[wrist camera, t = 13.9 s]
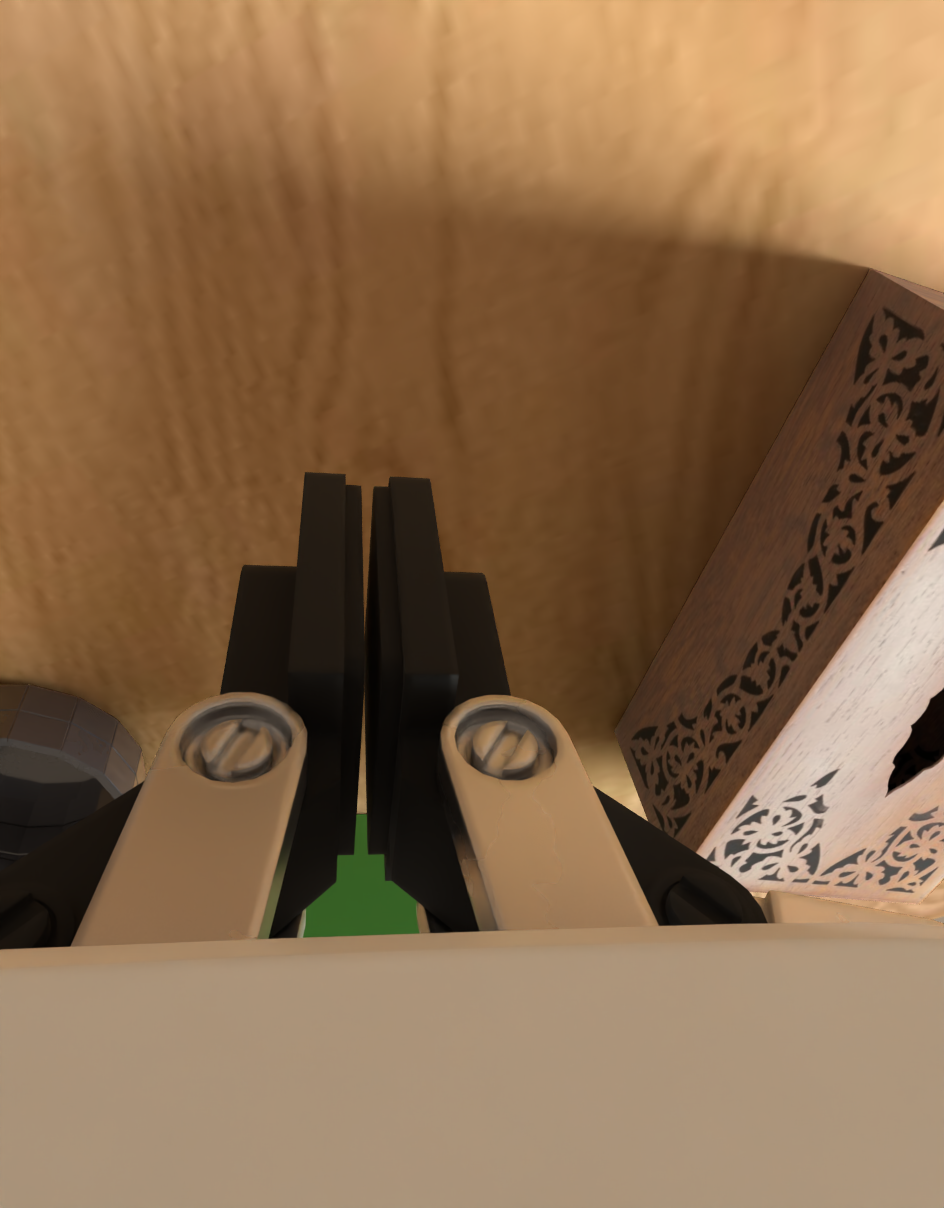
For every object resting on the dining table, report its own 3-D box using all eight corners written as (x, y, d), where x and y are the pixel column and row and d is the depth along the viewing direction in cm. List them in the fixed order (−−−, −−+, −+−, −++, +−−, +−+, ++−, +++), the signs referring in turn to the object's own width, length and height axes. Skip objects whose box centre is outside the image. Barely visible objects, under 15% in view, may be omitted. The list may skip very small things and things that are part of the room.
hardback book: (231, 896, 52) (181, 1442, 33) (230, 815, 47) (171, 1390, 28) (515, 888, 55) (618, 1375, 36) (538, 812, 51) (668, 1320, 32)
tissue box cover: (870, 268, 34) (1039, 363, 26) (1134, 358, 38) (1349, 464, 30) (614, 731, 48) (672, 885, 40) (828, 759, 52) (919, 904, 44)
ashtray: (-126, 678, 39) (-165, 743, 36) (132, 674, 41) (116, 735, 37) (-61, 835, 45) (-90, 901, 42) (158, 826, 47) (146, 888, 44)
